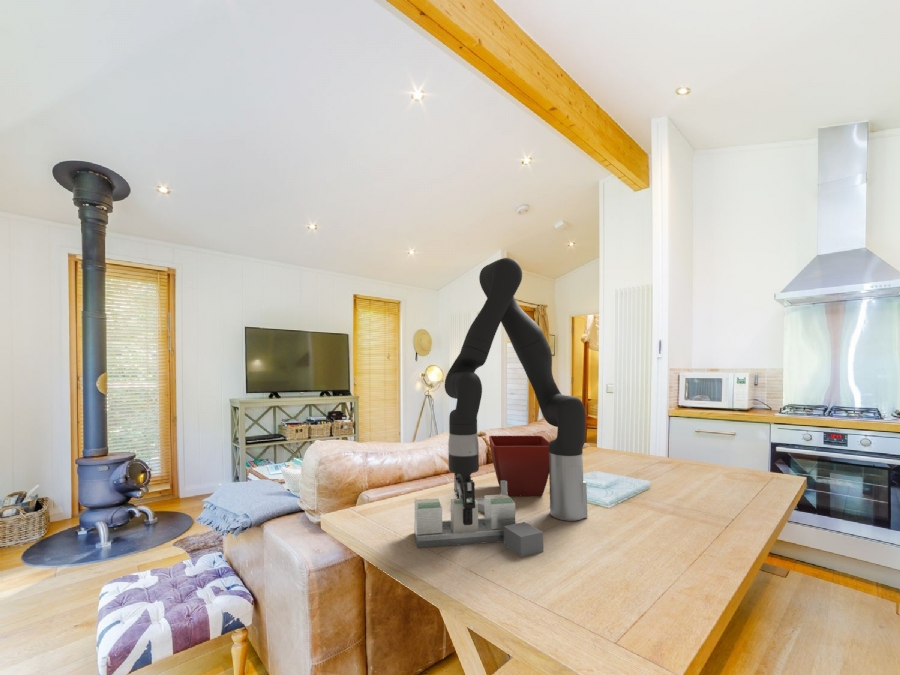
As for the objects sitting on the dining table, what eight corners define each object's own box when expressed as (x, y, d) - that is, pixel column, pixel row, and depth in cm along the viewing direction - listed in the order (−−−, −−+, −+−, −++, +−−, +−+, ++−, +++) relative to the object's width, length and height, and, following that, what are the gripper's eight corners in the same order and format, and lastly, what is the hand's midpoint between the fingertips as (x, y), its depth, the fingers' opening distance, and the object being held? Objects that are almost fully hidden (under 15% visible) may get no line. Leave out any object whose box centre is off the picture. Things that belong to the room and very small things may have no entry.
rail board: (506, 526, 110) (505, 490, 111) (517, 540, 101) (516, 501, 102) (414, 532, 106) (414, 496, 107) (417, 548, 98) (417, 507, 98)
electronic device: (481, 472, 130) (517, 481, 118) (482, 505, 129) (518, 517, 117) (467, 475, 126) (503, 484, 115) (469, 509, 125) (505, 522, 114)
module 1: (474, 525, 107) (473, 496, 107) (478, 532, 102) (477, 501, 103) (450, 527, 106) (450, 497, 106) (453, 534, 101) (453, 503, 102)
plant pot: (555, 500, 131) (554, 445, 132) (494, 500, 131) (493, 445, 132) (543, 483, 150) (541, 435, 151) (489, 483, 150) (488, 435, 151)
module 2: (524, 541, 101) (524, 521, 102) (543, 552, 95) (542, 532, 95) (503, 545, 99) (503, 526, 99) (521, 558, 92) (521, 537, 93)
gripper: (485, 457, 99) (486, 528, 98) (472, 445, 113) (472, 507, 112) (453, 458, 98) (454, 530, 97) (444, 446, 112) (445, 509, 111)
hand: (464, 518), depth 104 cm, fingers open, 8 cm apart
